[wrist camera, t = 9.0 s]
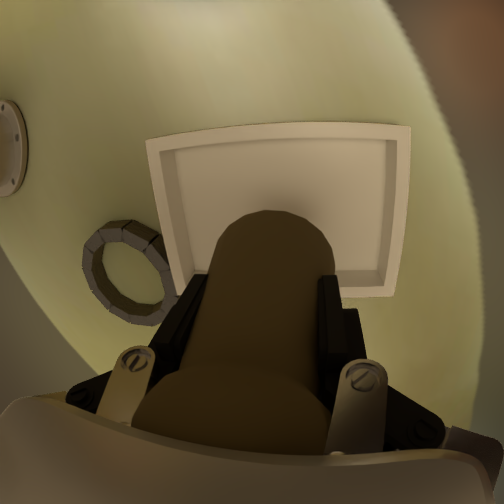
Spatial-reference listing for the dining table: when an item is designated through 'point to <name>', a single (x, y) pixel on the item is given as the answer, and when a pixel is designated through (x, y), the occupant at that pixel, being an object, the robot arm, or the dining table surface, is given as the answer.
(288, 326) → the cork
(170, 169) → the white rectangular tray
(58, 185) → the dining table surface
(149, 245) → the stone ring
